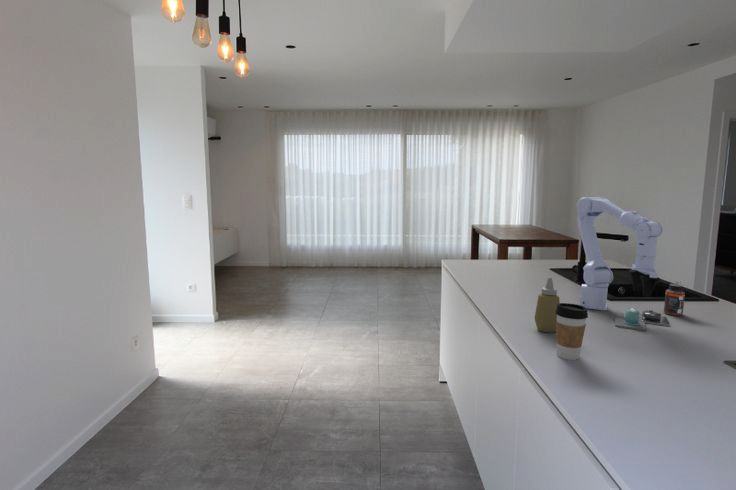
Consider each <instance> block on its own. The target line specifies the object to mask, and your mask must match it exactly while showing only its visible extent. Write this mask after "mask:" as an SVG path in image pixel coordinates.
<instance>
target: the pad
mask: <svg viewBox="0 0 736 490" xmlns="http://www.w3.org/2000/svg"><path fill="white" fill-rule="evenodd" d="M624 320H625V318H619V317H615V318H614V324H615V327H616V328H621V329H622V328H624V329H628V330H630V329H631V330H635V329H636V331H641V332H642V331H644V332H647V327H646V323H644V322H643V321H639V323H640V325H638V326H632V325H627V324H625V323H624Z"/></svg>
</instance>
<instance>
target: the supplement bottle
mask: <svg viewBox="0 0 736 490" xmlns="http://www.w3.org/2000/svg"><path fill="white" fill-rule="evenodd" d="M685 294H686V293H685V291H684V290H683V285H682V284H679V283H670V284H669V286H668V289H665V296H664V304H663V305H664V307H663V312H664V313H665V314H666V315H669V316H677V317H678V316H679V317H680V316H682V315H684V307H685V297H686V295H685Z"/></svg>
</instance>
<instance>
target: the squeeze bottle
mask: <svg viewBox="0 0 736 490" xmlns="http://www.w3.org/2000/svg"><path fill="white" fill-rule="evenodd" d="M557 293H558V289H557V288H556V287H554V284H553V278H552V277H548V278H547V280H546V283H545V286H544V287H541V293H539V294H538V296H537V301H536V308H535V313H534V322H535V325H536V329H537V330H538V331H539V332H542V333H543V332H544V333H556V319H557V314H556V313H555V312H556V308H557V304H558V303H561V302H560V296H559V295H557Z"/></svg>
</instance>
